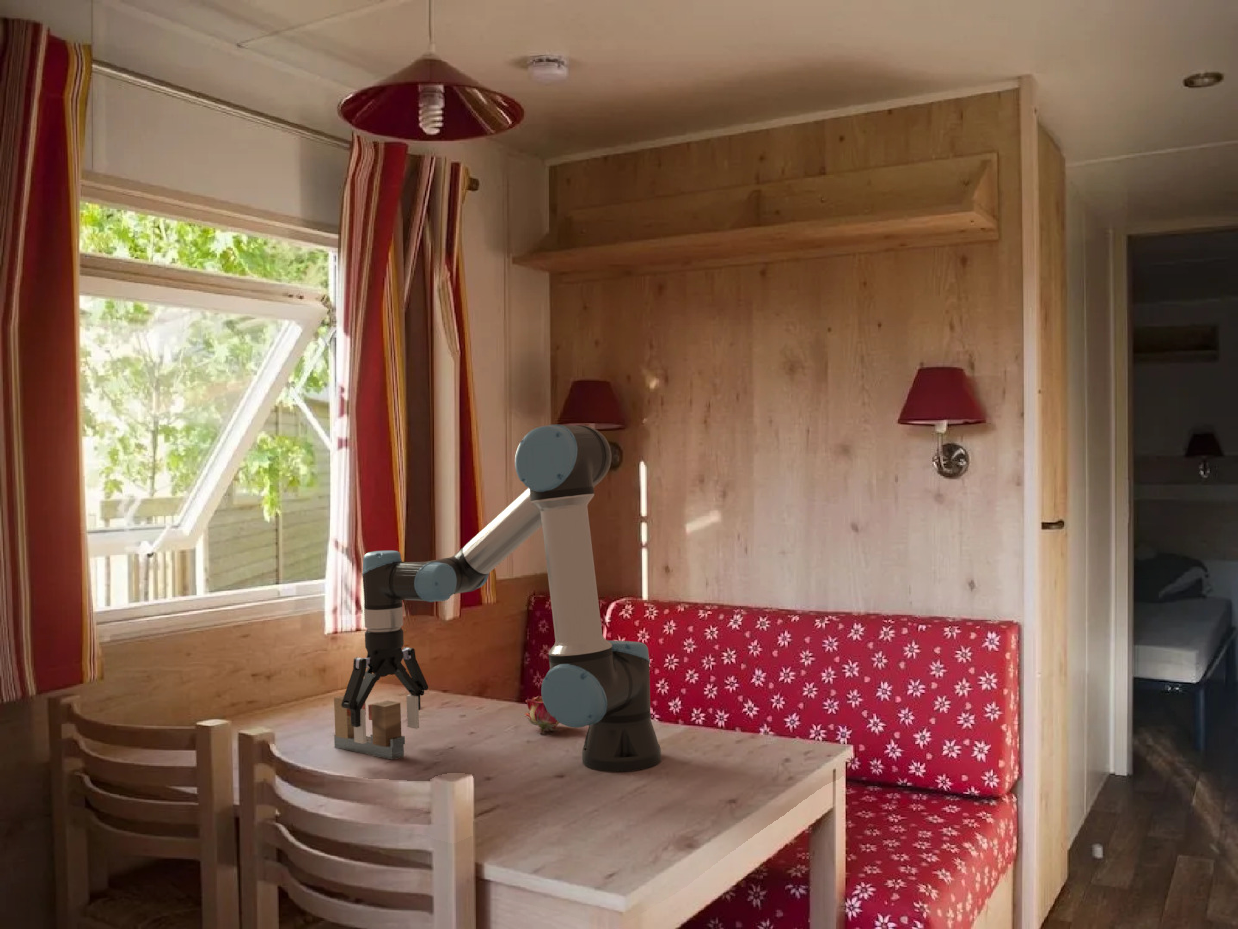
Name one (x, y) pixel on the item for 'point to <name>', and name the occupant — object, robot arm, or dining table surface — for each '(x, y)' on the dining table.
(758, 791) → the dining table surface
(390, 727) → the walnut finger
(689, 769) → the dining table surface
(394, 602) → the robot arm
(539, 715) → the flower
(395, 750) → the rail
